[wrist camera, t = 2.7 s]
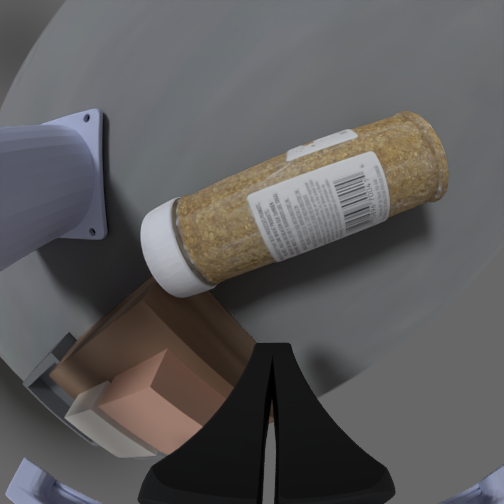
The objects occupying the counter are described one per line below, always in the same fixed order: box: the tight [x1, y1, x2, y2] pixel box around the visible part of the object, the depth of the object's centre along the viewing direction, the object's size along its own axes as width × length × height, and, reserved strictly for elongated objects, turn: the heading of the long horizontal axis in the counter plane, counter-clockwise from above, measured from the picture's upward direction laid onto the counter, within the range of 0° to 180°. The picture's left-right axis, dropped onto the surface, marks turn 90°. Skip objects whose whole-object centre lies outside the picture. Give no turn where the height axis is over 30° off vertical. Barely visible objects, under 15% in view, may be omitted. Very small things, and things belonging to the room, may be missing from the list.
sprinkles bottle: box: [141, 111, 449, 298], centre depth 11 cm, size 5×5×13 cm
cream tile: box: [64, 380, 158, 458], centre depth 13 cm, size 5×5×2 cm
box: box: [23, 333, 100, 446], centre depth 21 cm, size 14×12×3 cm
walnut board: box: [49, 276, 274, 423], centre depth 16 cm, size 14×10×5 cm
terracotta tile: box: [98, 348, 226, 454], centre depth 12 cm, size 5×5×2 cm
